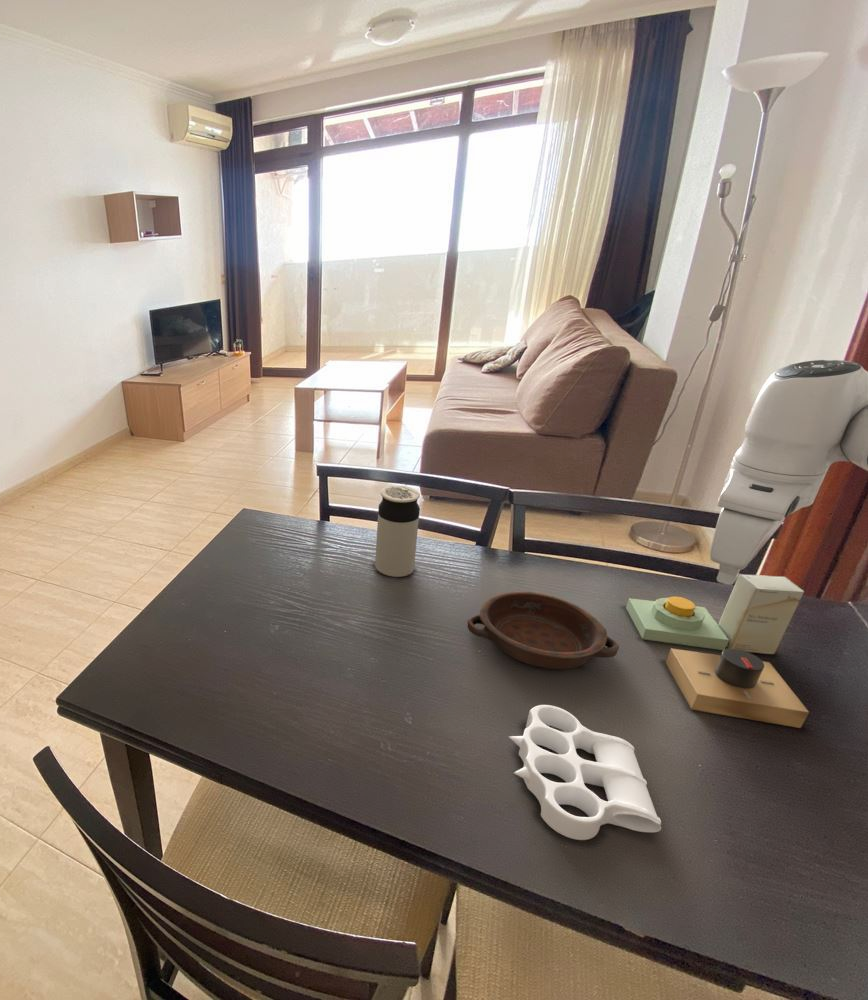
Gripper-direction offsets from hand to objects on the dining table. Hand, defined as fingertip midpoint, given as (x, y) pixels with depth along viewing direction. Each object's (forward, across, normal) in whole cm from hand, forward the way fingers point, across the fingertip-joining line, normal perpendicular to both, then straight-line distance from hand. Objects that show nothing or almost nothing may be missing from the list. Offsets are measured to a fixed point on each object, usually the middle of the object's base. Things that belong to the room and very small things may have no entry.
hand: (735, 569), depth 79 cm
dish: (+17, +14, -18) cm, 29 cm away
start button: (+14, -6, -5) cm, 16 cm away
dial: (+14, +5, +5) cm, 16 cm away
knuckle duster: (+17, +37, -3) cm, 41 cm away
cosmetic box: (+17, -10, +3) cm, 20 cm away
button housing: (+17, -6, -5) cm, 19 cm away
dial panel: (+17, +5, +5) cm, 19 cm away
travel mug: (+17, +12, -48) cm, 53 cm away
